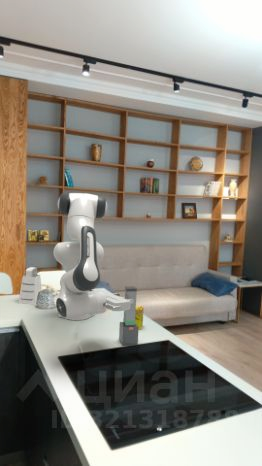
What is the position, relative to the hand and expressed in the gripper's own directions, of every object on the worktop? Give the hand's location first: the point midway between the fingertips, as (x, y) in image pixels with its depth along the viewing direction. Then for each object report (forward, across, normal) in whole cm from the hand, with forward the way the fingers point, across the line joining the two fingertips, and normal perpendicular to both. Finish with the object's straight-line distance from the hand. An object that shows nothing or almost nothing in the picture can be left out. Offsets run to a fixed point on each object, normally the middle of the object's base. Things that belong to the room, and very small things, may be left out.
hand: (125, 297), depth 146 cm
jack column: (+3, 0, +13) cm, 13 cm away
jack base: (+3, 0, +21) cm, 21 cm away
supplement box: (+17, +13, +21) cm, 30 cm away
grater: (-7, +81, +20) cm, 84 cm away
